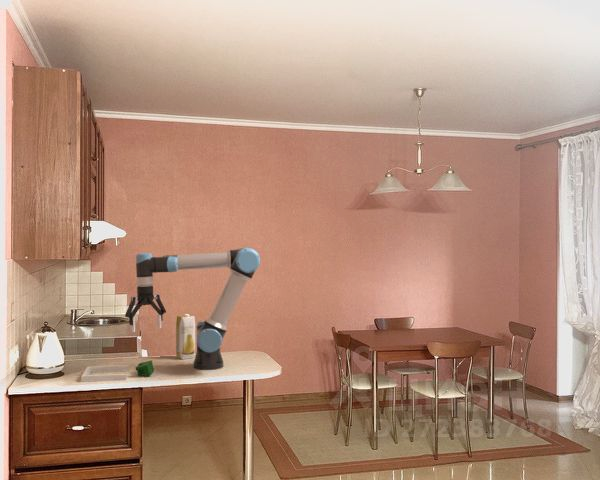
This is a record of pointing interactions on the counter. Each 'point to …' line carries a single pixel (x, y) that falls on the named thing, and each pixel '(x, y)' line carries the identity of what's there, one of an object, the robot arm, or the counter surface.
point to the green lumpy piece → (145, 368)
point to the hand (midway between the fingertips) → (146, 330)
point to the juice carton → (185, 337)
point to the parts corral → (88, 378)
